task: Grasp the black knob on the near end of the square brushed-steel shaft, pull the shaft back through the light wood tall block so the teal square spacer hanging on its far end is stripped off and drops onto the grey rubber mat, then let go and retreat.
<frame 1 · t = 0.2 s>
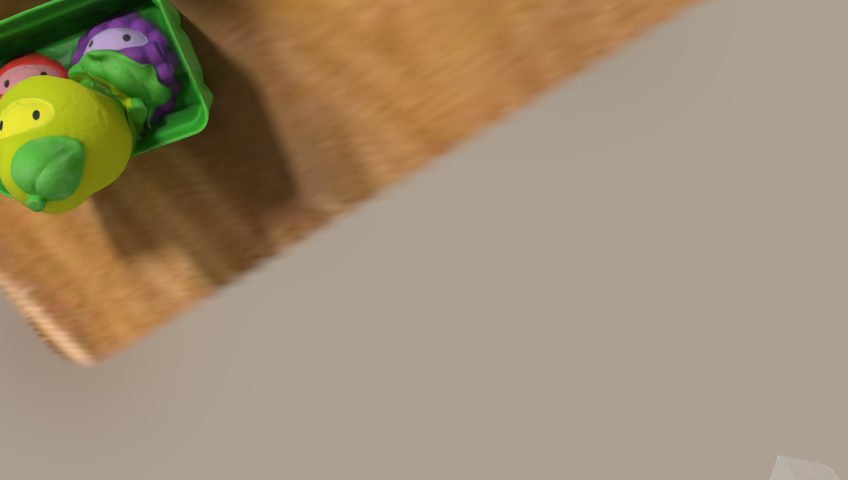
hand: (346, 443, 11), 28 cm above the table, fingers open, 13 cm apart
fruit basket: (128, 92, 38), on the table
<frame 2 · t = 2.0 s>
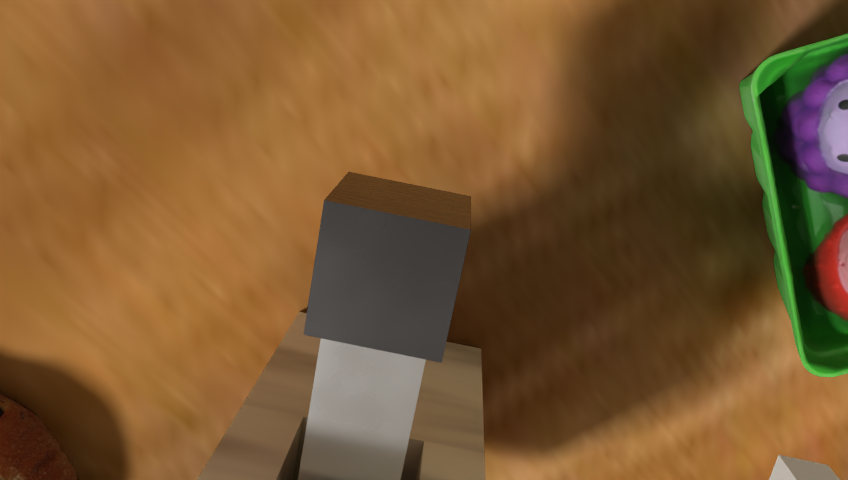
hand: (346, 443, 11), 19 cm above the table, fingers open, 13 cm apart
shaft: (352, 474, 22), point 10 cm above the table, slide at 0.0 cm, touching spacer
light wood tall block: (380, 381, 32), on the table
fruit basket: (837, 166, 28), on the table
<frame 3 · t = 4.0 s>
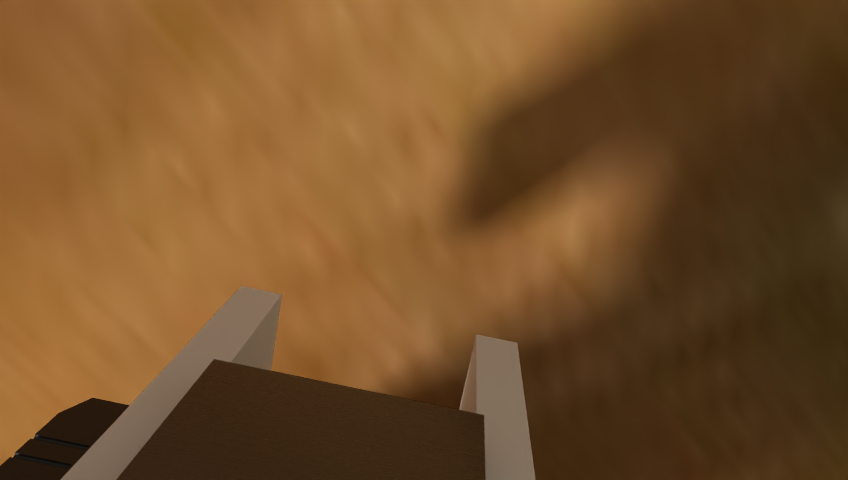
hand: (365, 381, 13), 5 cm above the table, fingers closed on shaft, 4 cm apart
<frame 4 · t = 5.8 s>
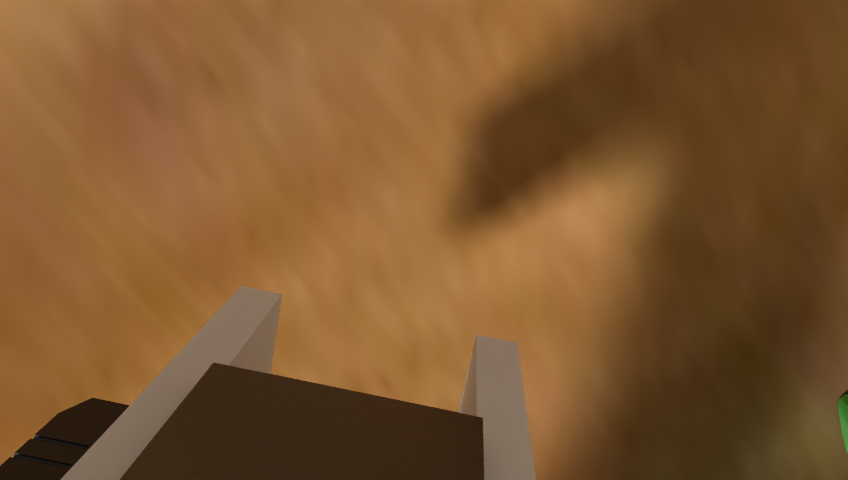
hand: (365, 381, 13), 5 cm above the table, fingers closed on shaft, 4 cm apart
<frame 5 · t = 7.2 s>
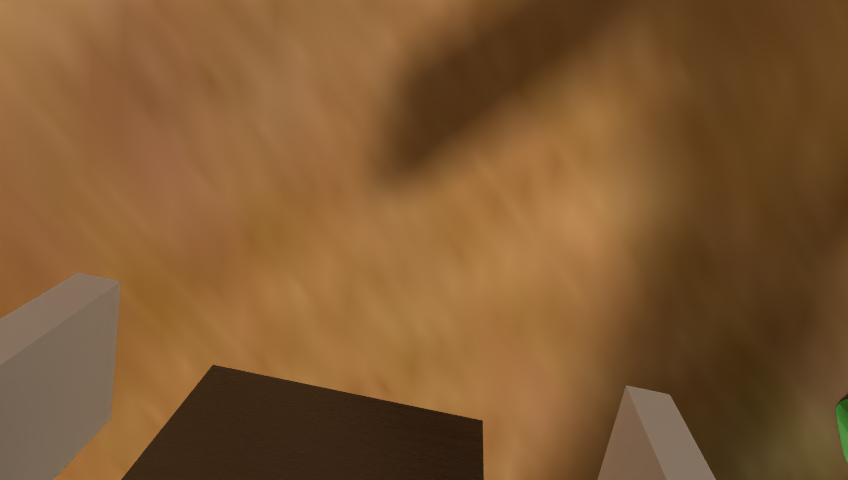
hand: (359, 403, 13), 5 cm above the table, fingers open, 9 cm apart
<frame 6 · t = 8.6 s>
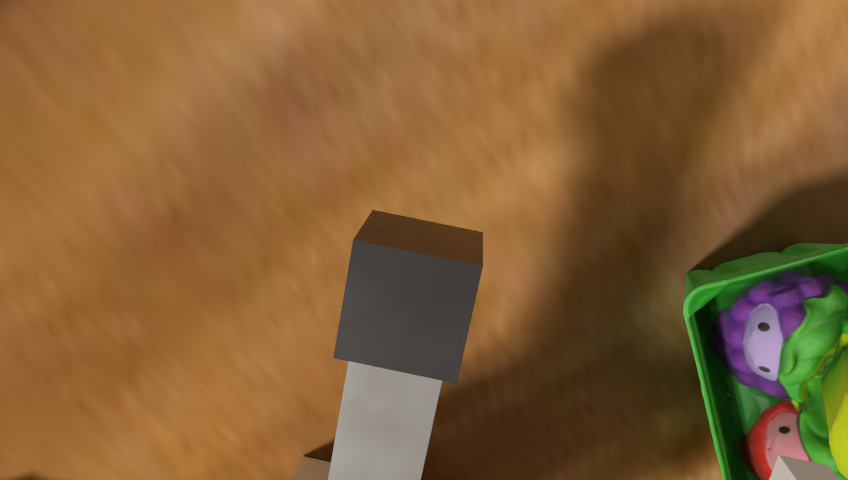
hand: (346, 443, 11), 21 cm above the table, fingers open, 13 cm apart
fruit basket: (774, 343, 32), on the table
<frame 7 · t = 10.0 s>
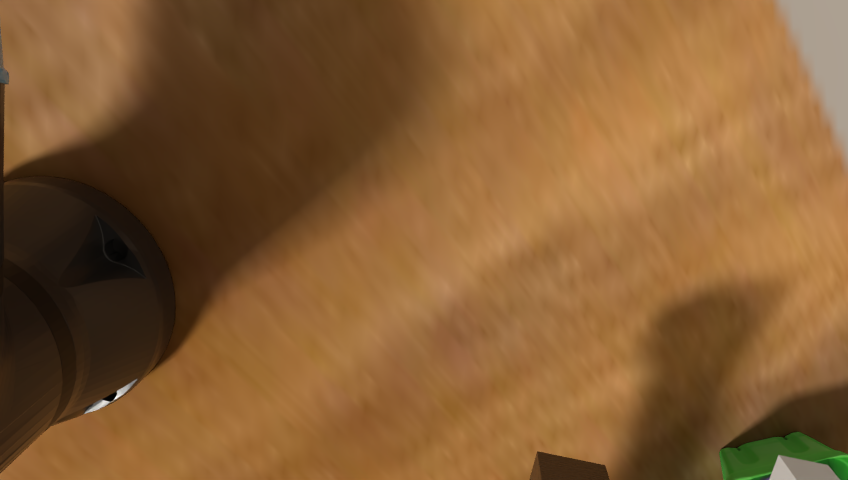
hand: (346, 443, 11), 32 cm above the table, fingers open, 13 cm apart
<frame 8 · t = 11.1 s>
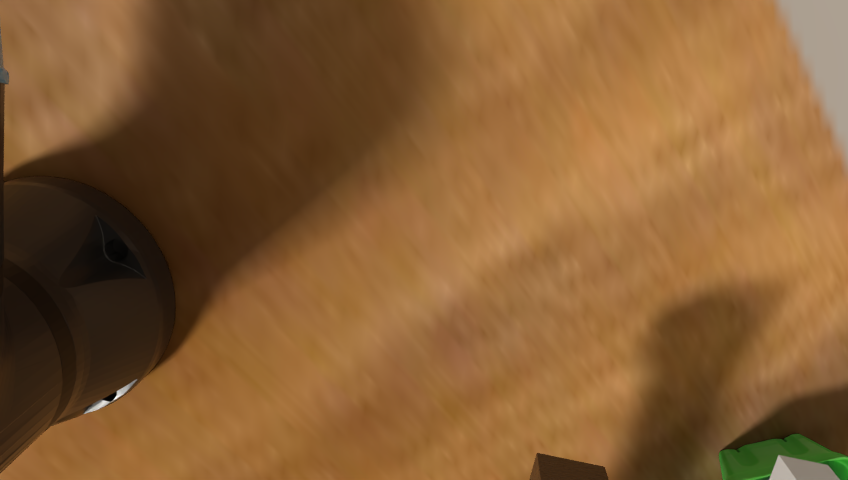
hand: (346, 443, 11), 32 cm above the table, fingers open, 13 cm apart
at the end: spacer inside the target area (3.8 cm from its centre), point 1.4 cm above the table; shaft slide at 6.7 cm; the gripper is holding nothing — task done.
